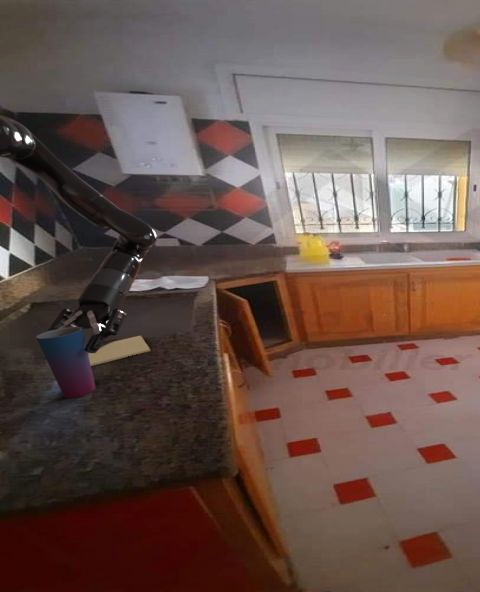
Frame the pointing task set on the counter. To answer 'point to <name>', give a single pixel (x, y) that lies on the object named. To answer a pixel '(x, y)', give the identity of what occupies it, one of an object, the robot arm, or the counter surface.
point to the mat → (118, 350)
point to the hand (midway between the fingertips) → (71, 351)
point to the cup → (68, 360)
